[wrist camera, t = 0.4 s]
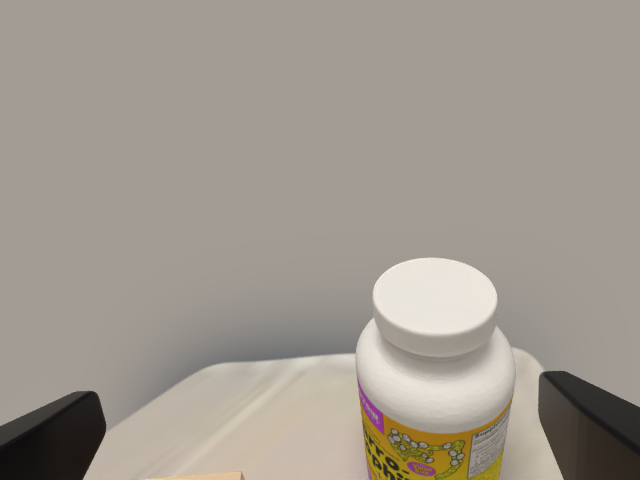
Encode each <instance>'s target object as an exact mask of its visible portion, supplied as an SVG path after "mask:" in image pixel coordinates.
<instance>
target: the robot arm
mask: <svg viewBox="0 0 640 480" xmlns="http://www.w3.org/2000/svg"><path fill="white" fill-rule="evenodd" d="M538 412H539V418H540V422H541V425H542V427H543V430H544V432H545V435H546V437H547V439H548V442H549V444H550V447H551V449H552V452H553V454H554V457H555V459H556V461H557V464H558V466H559V469H560V471H561V474H562V476H563V479H564V480H640V407H638V406H636V405H634V404H632V403H630V402H628V401H626V400H624V399H621V398H619V397H617V396H615V395H613V394H611V393H609V392H607V391H605V390H603V389H601V388H599V387H596V386H594V385H592V384H590V383H588V382H586V381H584V380H582V379H580V378H578V377H576V376H574V375H572V374H570V373H568V372H565V371H546V372H542V373H541V374H540V377H539V397H538ZM105 432H106V421H105V417H104V414H103V410H102V406H101V403H100V399H99V396H98V395H97V393H96V392H94V391H77V392H73V393H71V394H69V395H67V396H64V397H62V398H60V399H58V400H56V401H54V402H52V403H49V404H47V405H45V406H43V407H41V408H39V409H36V410H34V411H32V412H30V413H28V414H26V415H24V416H21V417H19V418H17V419H15V420H13V421H11V422H8V423H6V424H4V425H2V426H0V480H83V478H84V476H85V474H86V472H87V470H88V468H89V466H90V464H91V462H92V460H93V458H94V456H95V454H96V452H97V450H98V448H99V446H100V444H101V442H102V440H103V438H104V436H105Z"/></svg>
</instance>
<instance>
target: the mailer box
mask: <svg viewBox="0 0 640 480" xmlns="http://www.w3.org/2000/svg"><path fill="white" fill-rule="evenodd" d="M141 480H245V479H244V476H243V474H242V471H240V472H227V473H215V474H203V475H190V476H178V477H166V478H153V479H141Z"/></svg>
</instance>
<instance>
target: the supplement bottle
mask: <svg viewBox="0 0 640 480" xmlns="http://www.w3.org/2000/svg"><path fill="white" fill-rule="evenodd" d="M497 302H498V301H497V293H496V290H495V288H494V286H493V285H492V283H491V281H490V280H489V279H488V278H487V277H486V276H485V275H484V274H482V273H481V272H480V271H478V270H476V269H475V268H473V267H471V266H469V265H467V264H464V263H461V262H457V261H454V260H449V259H443V258H421V259H413V260H409V261H406V262H402V263H400V264H397V265H395V266H393V267H391V268H390V269H388V270H387V271H386V272H384V273H383V275H381V276H380V278H379V279H378V280H377V282H376V284H375V286H374V290H373V312H374V318H373V319H372V320H371V321H370V322H369V323H368V324H367V326H366V327H365V328H364V330H363V332H362V334H361V336H360V338H359V341H358V344H357V349H356V357H355V358H356V371H357V380H358V388H359V397H360V406H361V414H362V423H363V431H364V441H365V450H366V460H367V468H368V474H369V479H370V480H499V474H500V468H501V462H502V456H503V450H504V444H505V438H506V432H507V426H508V421H509V415H510V409H511V404H512V398H513V392H514V385H515V378H516V364H515V359H514V355H513V352H512V349H511V347H510V345H509V343H508V341H507V339H506V338H505V336H504V335H503V333H502V332H501V331H500V329H499V328H498V327H497V326H496V323H497V317H496V316H497Z"/></svg>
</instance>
